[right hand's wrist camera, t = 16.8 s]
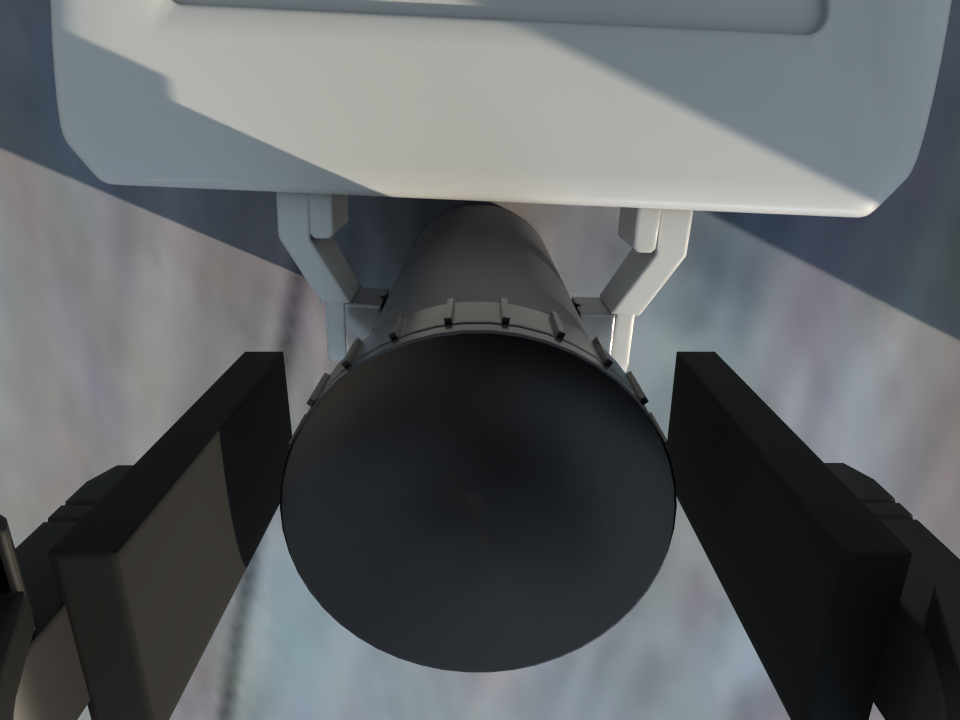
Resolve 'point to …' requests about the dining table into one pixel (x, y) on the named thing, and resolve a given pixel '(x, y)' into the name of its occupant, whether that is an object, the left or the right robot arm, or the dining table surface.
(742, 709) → the dining table surface
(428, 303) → the jar
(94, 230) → the dining table surface
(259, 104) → the left robot arm
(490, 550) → the lid
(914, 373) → the dining table surface
